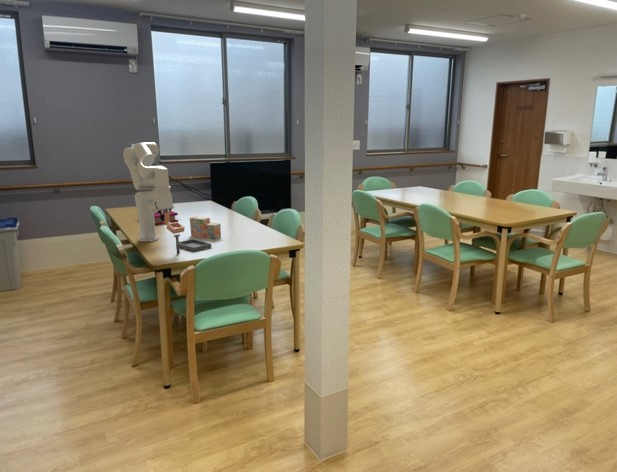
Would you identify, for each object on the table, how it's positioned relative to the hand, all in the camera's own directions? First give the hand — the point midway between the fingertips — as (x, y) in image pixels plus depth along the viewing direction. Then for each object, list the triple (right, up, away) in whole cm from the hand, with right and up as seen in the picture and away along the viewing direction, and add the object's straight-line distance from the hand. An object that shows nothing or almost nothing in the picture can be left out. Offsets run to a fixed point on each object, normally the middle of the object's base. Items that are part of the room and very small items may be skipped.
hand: (164, 220), depth 273 cm
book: (-31, +2, +86) cm, 92 cm away
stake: (+9, -19, -3) cm, 21 cm away
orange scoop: (+5, -4, -3) cm, 7 cm away
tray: (+14, -16, +10) cm, 24 cm away
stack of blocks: (+16, -10, +36) cm, 41 cm away
